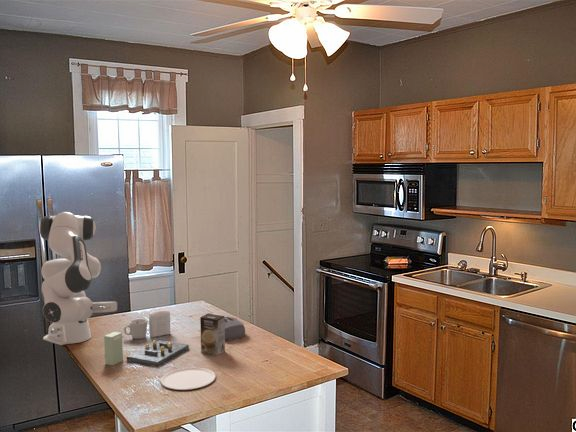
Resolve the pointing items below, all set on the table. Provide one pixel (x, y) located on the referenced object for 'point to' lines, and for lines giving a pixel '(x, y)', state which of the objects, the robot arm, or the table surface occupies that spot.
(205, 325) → the coffee box
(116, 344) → the block
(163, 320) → the photo printer
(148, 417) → the table surface
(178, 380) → the plate
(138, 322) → the cup
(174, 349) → the chassis
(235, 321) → the soft grey pack
